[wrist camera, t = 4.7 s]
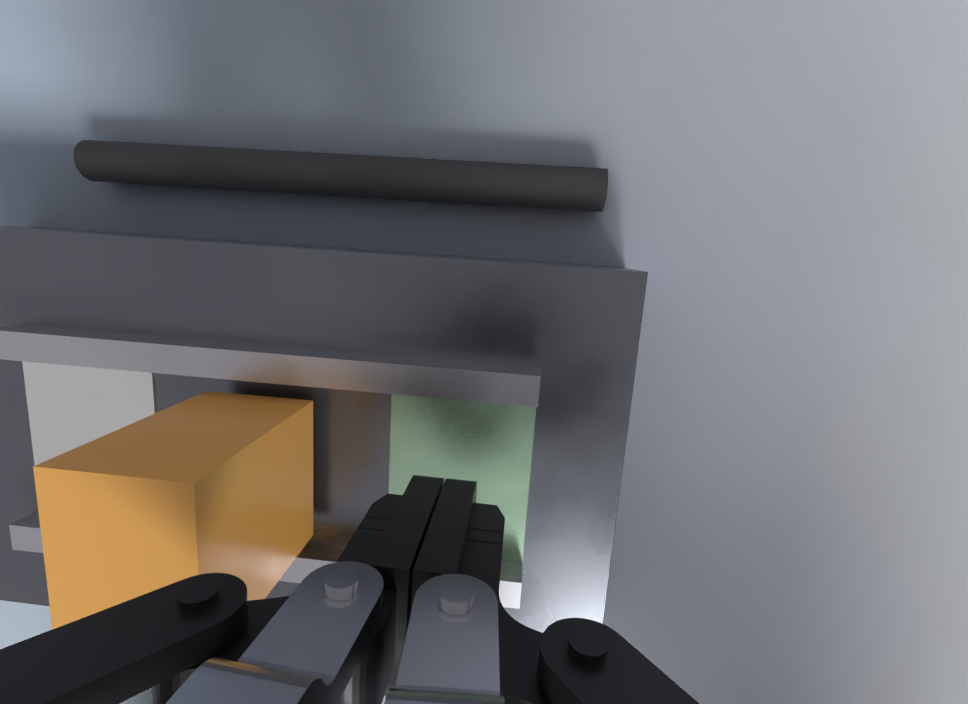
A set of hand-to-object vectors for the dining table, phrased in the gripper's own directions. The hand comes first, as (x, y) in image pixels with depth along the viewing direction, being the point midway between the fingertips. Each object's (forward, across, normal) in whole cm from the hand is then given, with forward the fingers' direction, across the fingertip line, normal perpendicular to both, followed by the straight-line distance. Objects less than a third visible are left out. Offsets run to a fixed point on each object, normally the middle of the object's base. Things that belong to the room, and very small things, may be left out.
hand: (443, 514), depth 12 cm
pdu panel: (+6, +6, 0) cm, 8 cm away
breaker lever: (+3, +6, 0) cm, 6 cm away
